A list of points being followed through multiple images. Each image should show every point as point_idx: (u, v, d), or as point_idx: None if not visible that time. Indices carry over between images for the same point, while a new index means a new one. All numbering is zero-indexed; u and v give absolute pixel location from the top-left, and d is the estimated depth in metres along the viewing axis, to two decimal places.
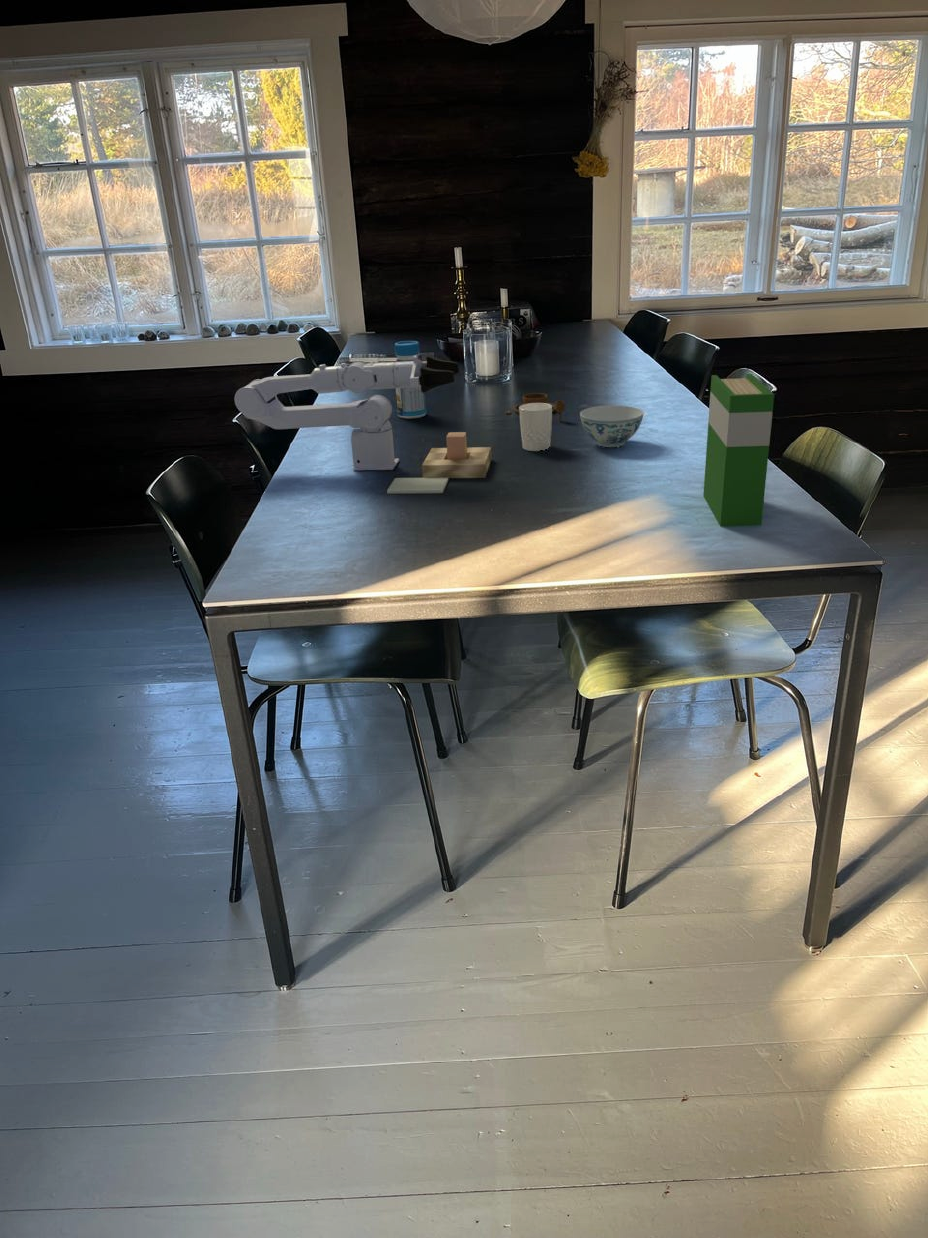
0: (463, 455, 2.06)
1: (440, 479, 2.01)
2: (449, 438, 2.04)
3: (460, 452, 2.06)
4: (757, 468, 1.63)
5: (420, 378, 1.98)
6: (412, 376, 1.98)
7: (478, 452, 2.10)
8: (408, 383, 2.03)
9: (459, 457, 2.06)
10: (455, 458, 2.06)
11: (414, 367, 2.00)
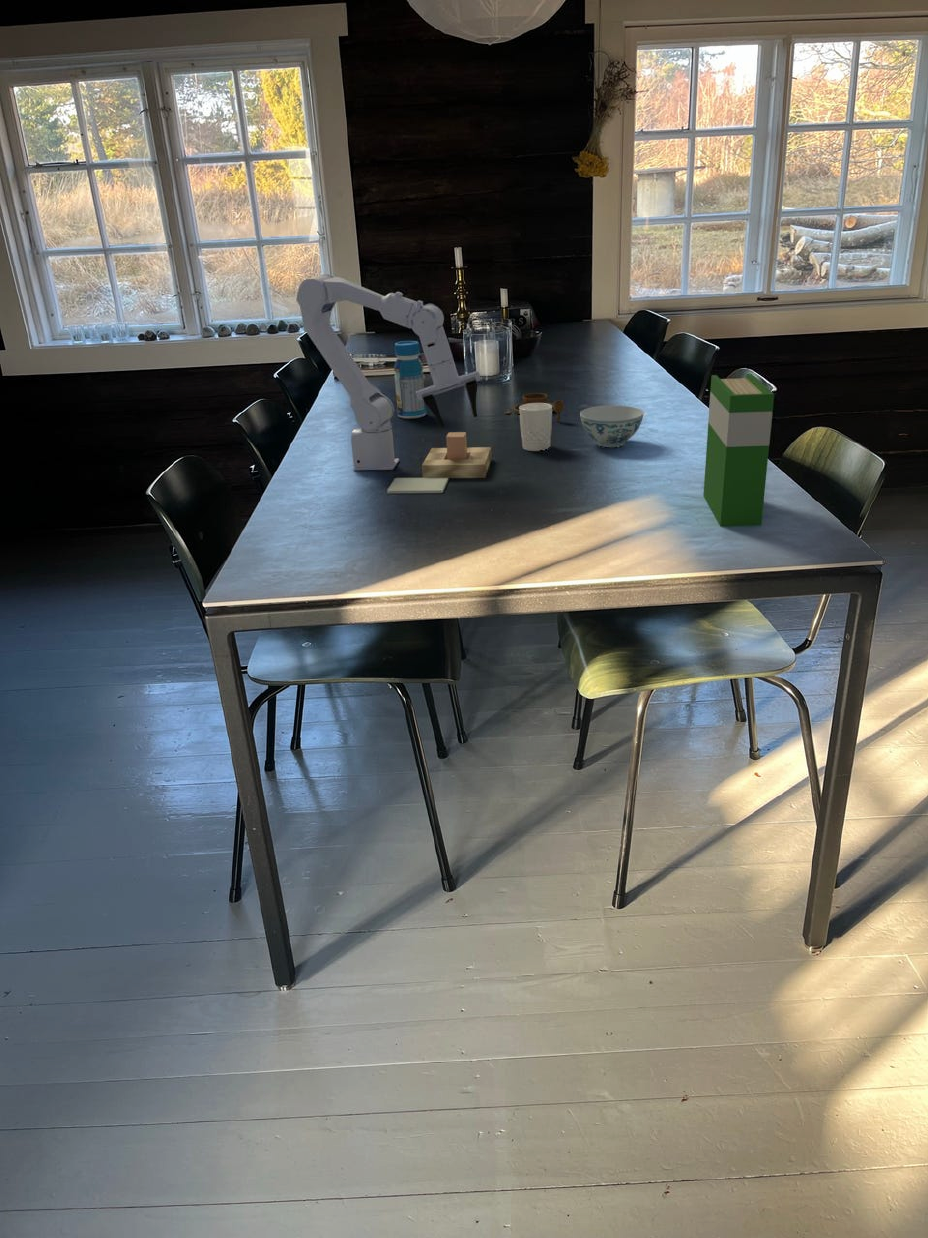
0: (463, 455, 2.06)
1: (440, 479, 2.01)
2: (449, 438, 2.04)
3: (460, 452, 2.06)
4: (757, 468, 1.63)
5: (423, 400, 2.02)
6: (421, 393, 2.01)
7: (478, 452, 2.10)
8: None
9: (459, 457, 2.06)
10: (455, 458, 2.06)
11: (435, 388, 2.00)
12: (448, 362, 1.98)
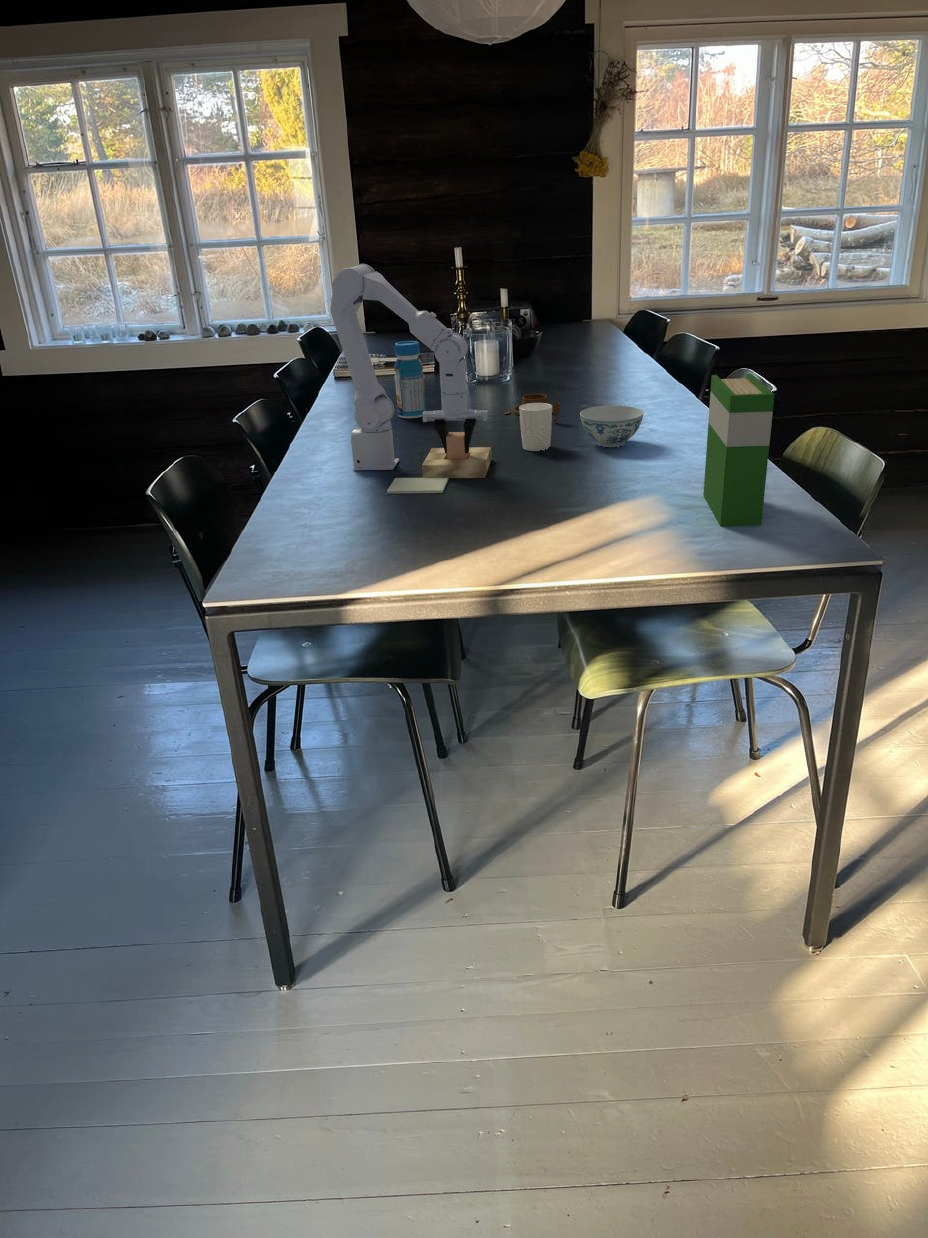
0: (463, 455, 2.06)
1: (440, 479, 2.01)
2: (449, 438, 2.04)
3: (460, 452, 2.06)
4: (758, 468, 1.63)
5: None
6: (426, 415, 2.04)
7: (478, 452, 2.10)
8: None
9: (459, 457, 2.06)
10: (455, 458, 2.06)
11: (440, 416, 2.02)
12: (459, 396, 2.00)
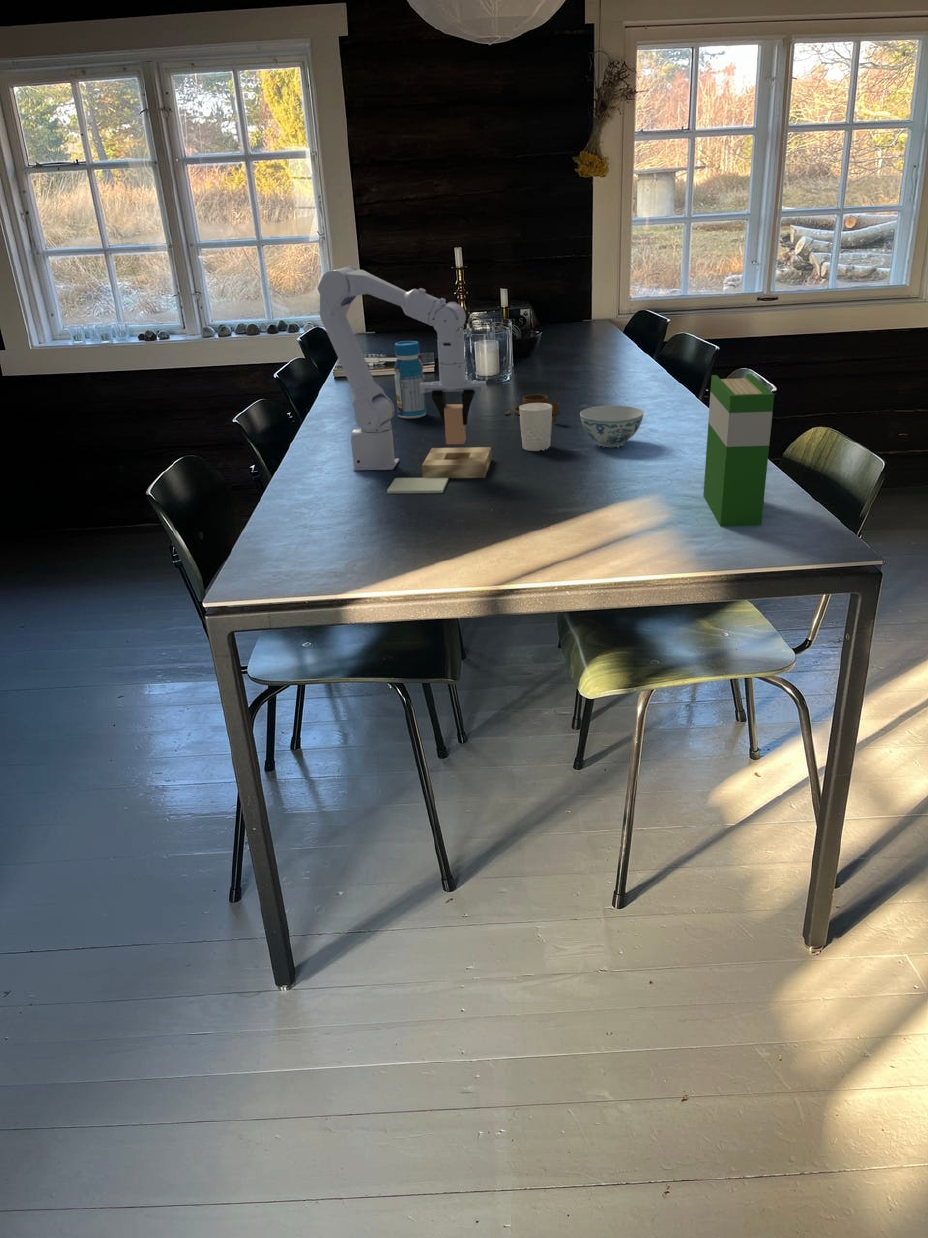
0: (461, 427, 2.03)
1: (440, 479, 2.01)
2: (447, 410, 2.02)
3: (458, 424, 2.03)
4: (757, 468, 1.63)
5: (432, 393, 2.02)
6: (424, 386, 2.01)
7: (478, 452, 2.10)
8: None
9: (457, 429, 2.03)
10: (453, 430, 2.03)
11: (438, 387, 1.99)
12: (457, 365, 1.97)
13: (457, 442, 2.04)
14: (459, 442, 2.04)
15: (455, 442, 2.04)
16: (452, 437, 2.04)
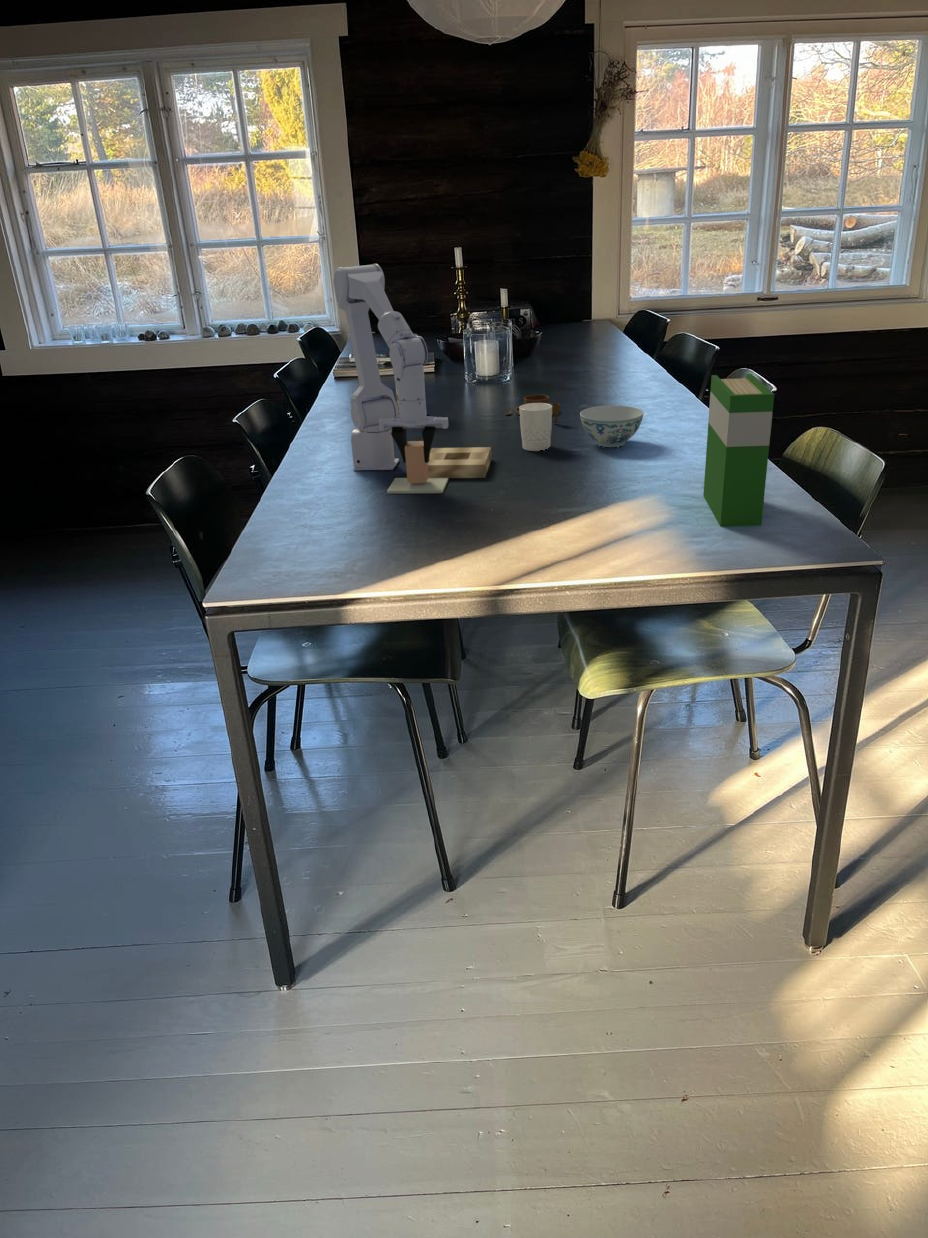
0: (423, 465, 1.95)
1: (440, 479, 2.01)
2: (408, 448, 1.93)
3: (420, 463, 1.95)
4: (758, 468, 1.63)
5: None
6: (383, 423, 1.92)
7: (478, 452, 2.10)
8: None
9: (419, 468, 1.95)
10: (414, 469, 1.95)
11: (398, 423, 1.91)
12: (416, 402, 1.88)
13: (419, 481, 1.97)
14: (421, 481, 1.96)
15: (417, 481, 1.97)
16: (414, 476, 1.96)
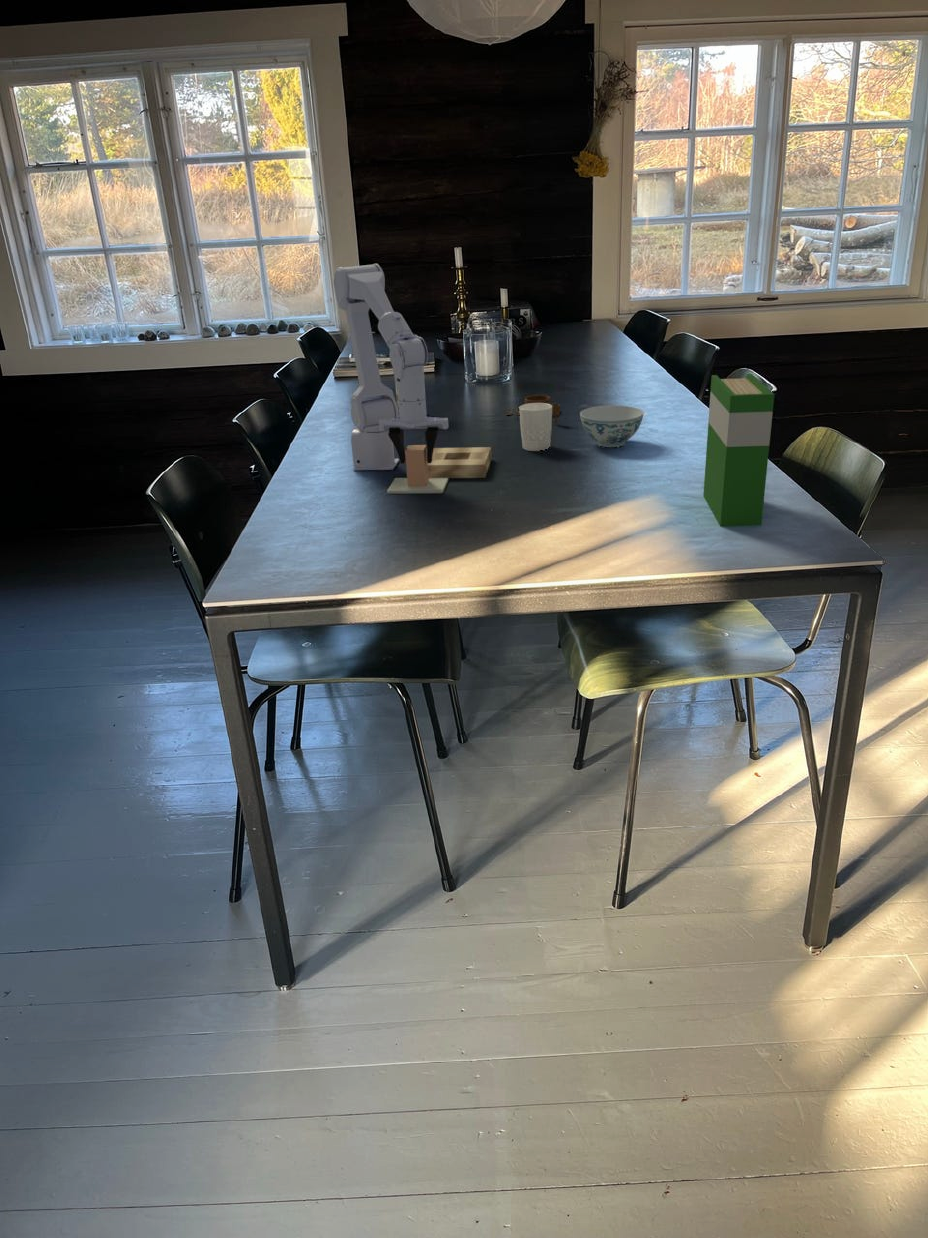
0: (423, 469, 1.95)
1: (440, 479, 2.01)
2: (408, 451, 1.94)
3: (420, 466, 1.95)
4: (758, 468, 1.63)
5: None
6: (383, 423, 1.92)
7: (478, 452, 2.10)
8: None
9: (419, 471, 1.96)
10: (415, 472, 1.96)
11: (398, 424, 1.91)
12: (417, 403, 1.88)
13: (419, 484, 1.97)
14: (421, 484, 1.97)
15: (417, 484, 1.97)
16: (414, 479, 1.96)
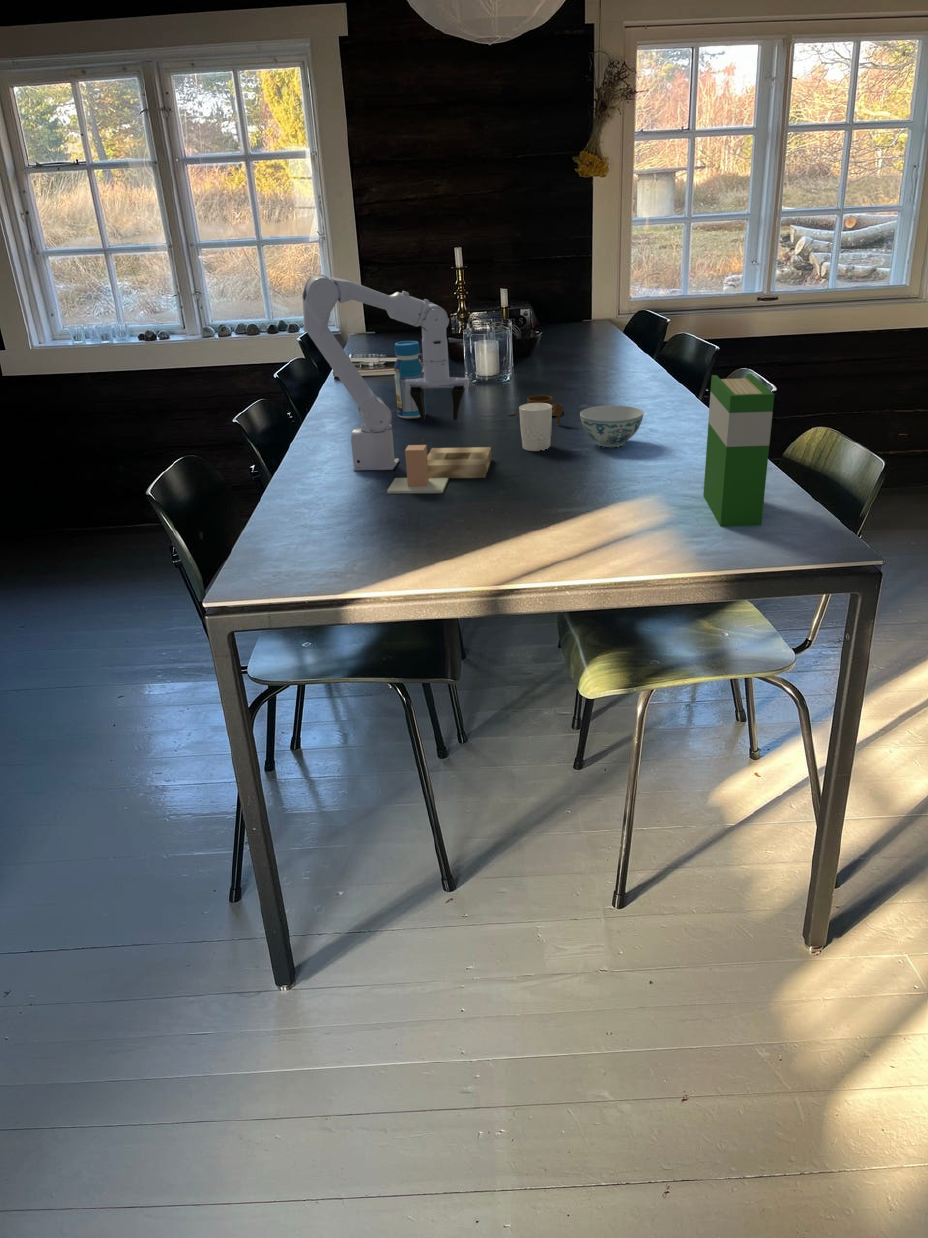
0: (423, 469, 1.95)
1: (440, 479, 2.01)
2: (408, 451, 1.94)
3: (420, 466, 1.95)
4: (758, 468, 1.63)
5: None
6: (409, 383, 2.10)
7: (478, 452, 2.10)
8: None
9: (419, 471, 1.96)
10: (415, 472, 1.96)
11: (423, 383, 2.08)
12: (440, 363, 2.05)
13: (419, 484, 1.97)
14: (421, 484, 1.97)
15: (417, 484, 1.97)
16: (414, 479, 1.96)
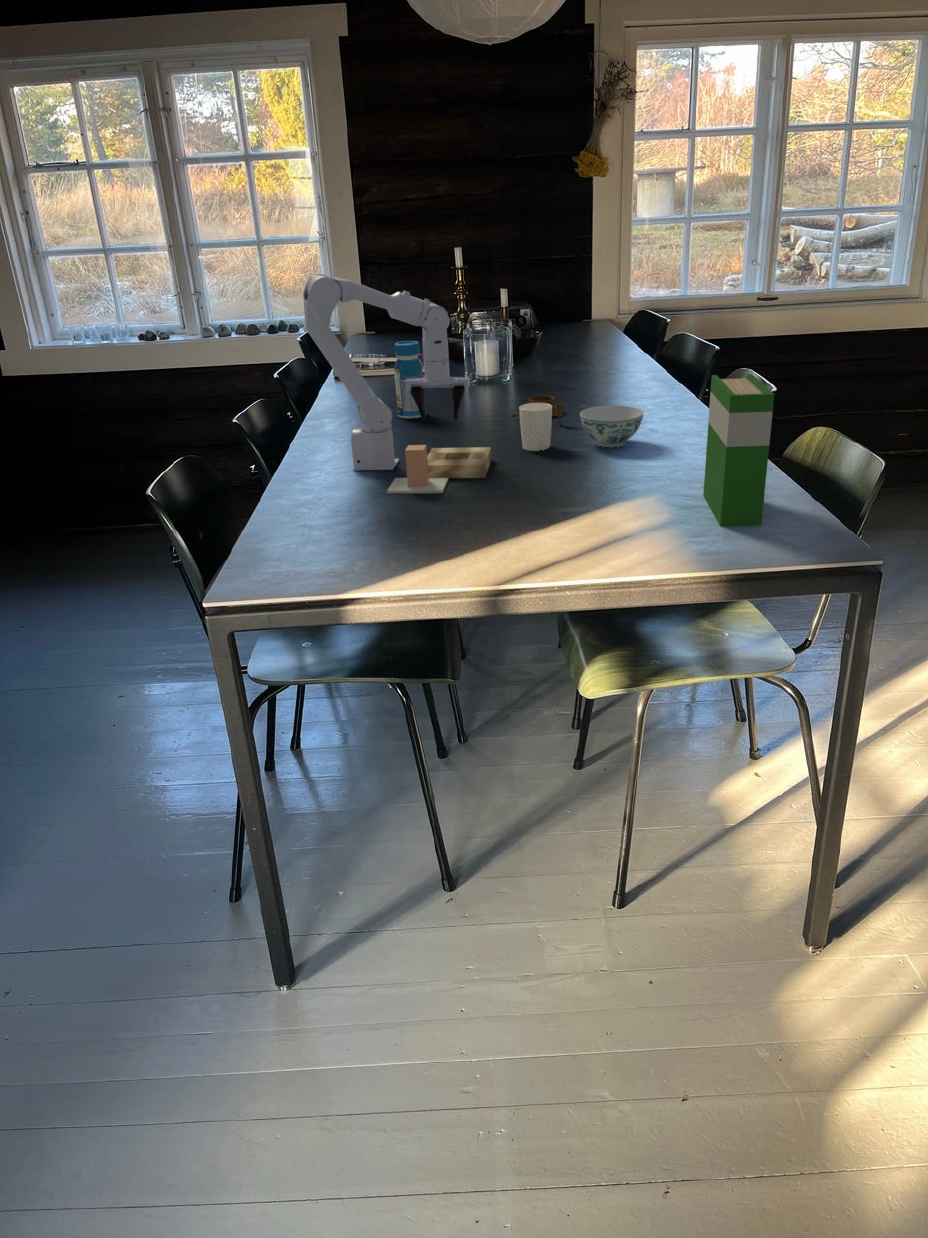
0: (423, 469, 1.95)
1: (440, 479, 2.01)
2: (408, 451, 1.94)
3: (420, 466, 1.95)
4: (758, 468, 1.63)
5: None
6: (410, 382, 2.10)
7: (478, 452, 2.10)
8: None
9: (419, 471, 1.96)
10: (415, 472, 1.96)
11: (423, 383, 2.09)
12: (441, 363, 2.06)
13: (419, 484, 1.97)
14: (421, 484, 1.97)
15: (417, 484, 1.97)
16: (414, 479, 1.96)
